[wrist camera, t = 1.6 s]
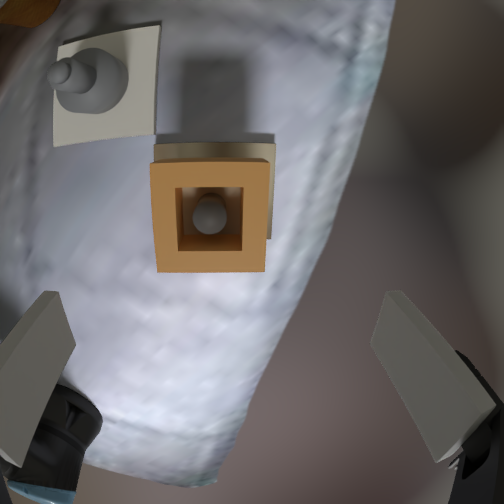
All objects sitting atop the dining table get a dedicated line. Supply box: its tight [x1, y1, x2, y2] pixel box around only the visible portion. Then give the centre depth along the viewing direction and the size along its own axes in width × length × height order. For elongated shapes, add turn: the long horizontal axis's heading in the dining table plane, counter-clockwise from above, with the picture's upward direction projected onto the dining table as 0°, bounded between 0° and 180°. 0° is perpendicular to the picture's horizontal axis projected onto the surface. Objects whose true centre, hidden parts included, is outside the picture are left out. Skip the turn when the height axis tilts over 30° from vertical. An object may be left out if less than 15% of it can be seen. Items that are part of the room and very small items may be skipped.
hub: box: [47, 25, 161, 147], centre depth 19 cm, size 12×12×10 cm
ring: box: [150, 157, 270, 273], centre depth 21 cm, size 8×8×4 cm
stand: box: [154, 142, 276, 239], centre depth 25 cm, size 12×10×10 cm
